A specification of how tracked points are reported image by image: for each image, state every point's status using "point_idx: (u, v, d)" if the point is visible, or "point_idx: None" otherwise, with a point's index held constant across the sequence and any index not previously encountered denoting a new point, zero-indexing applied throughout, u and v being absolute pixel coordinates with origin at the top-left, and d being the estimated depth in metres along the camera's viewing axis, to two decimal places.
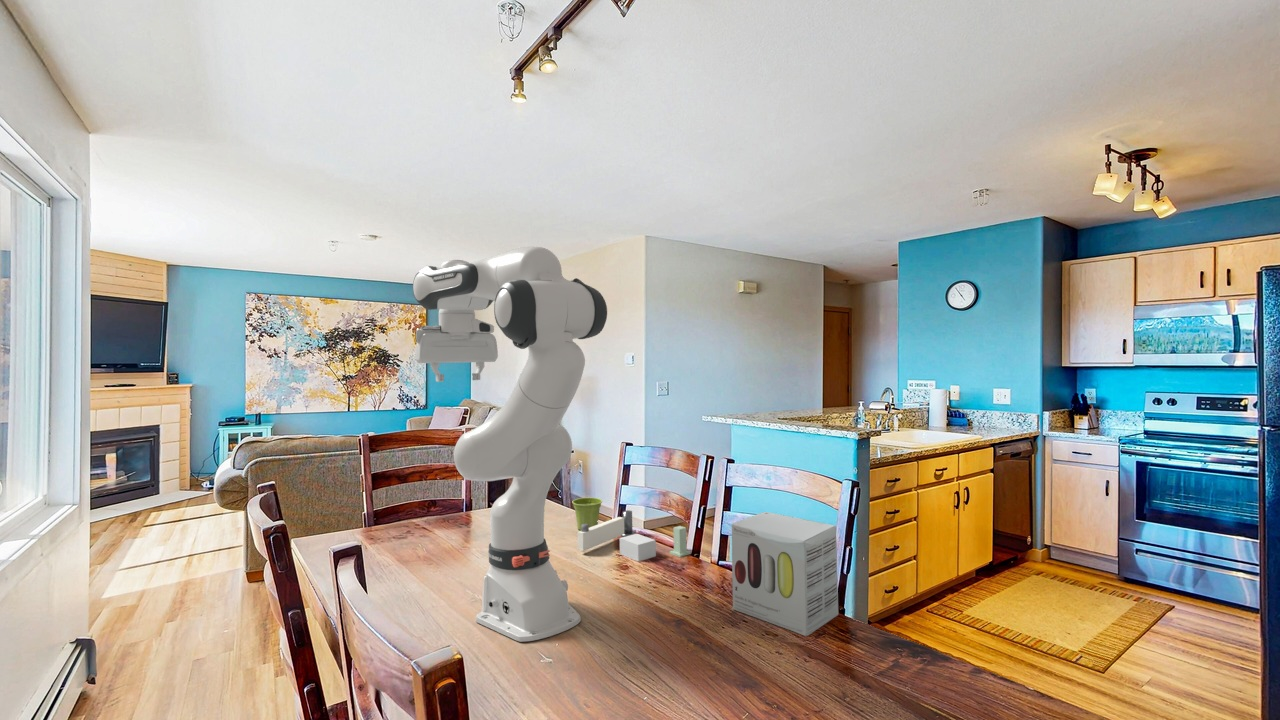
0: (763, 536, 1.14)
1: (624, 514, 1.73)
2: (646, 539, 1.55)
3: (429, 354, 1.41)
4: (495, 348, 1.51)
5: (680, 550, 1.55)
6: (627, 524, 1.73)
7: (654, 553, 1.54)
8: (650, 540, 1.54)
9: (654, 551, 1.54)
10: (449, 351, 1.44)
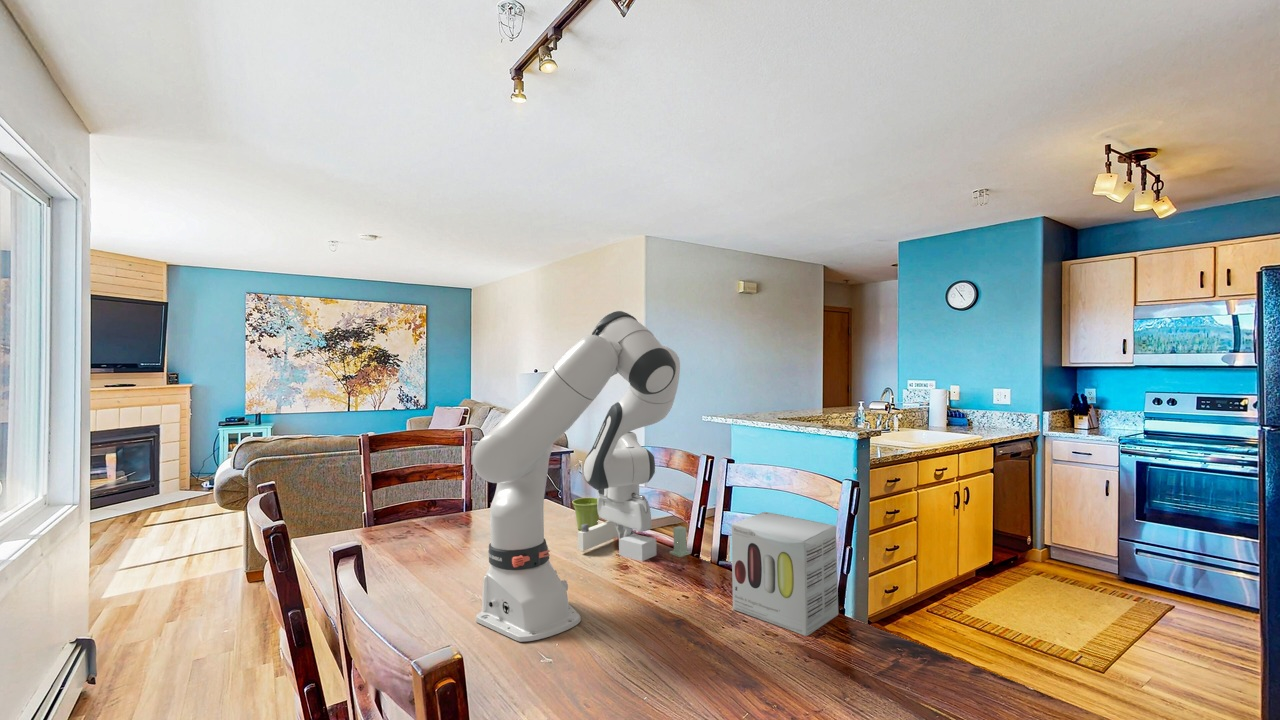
0: (763, 536, 1.14)
1: None
2: (646, 538, 1.56)
3: None
4: None
5: (680, 550, 1.55)
6: None
7: (655, 552, 1.55)
8: (651, 539, 1.55)
9: (655, 550, 1.55)
10: None
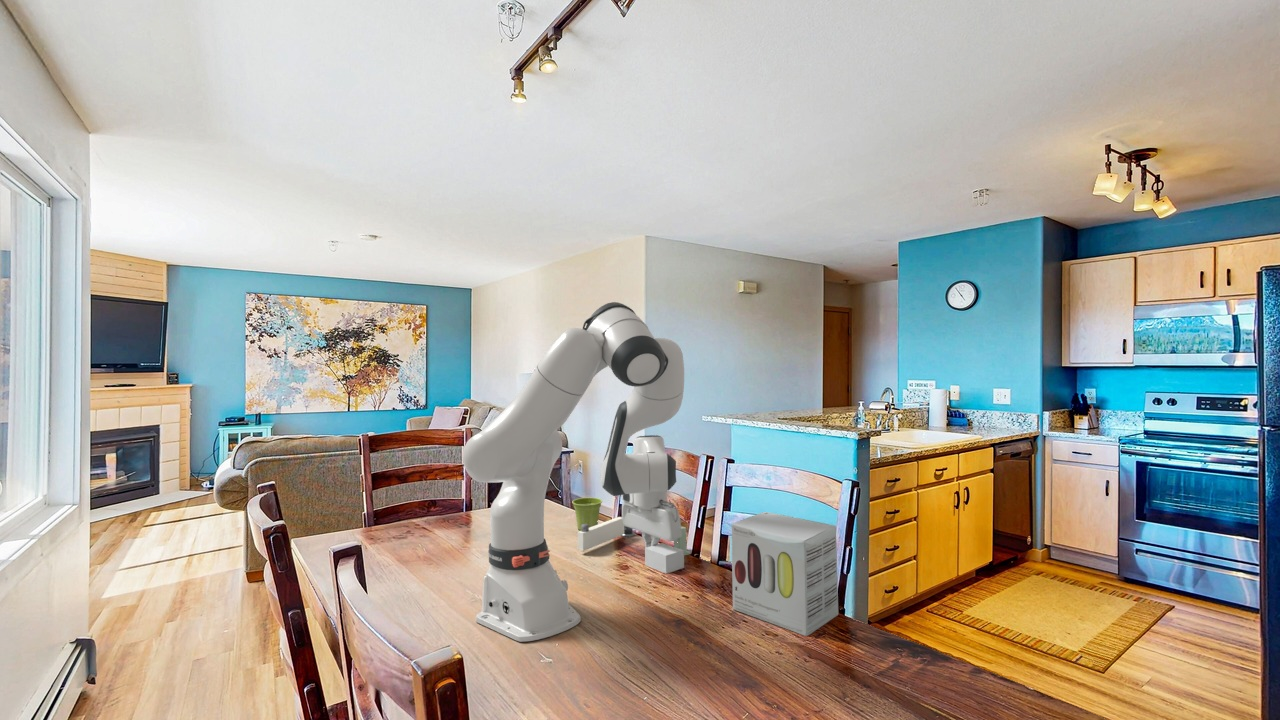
0: (763, 536, 1.14)
1: None
2: (673, 549, 1.46)
3: None
4: None
5: None
6: None
7: (682, 564, 1.45)
8: (678, 550, 1.45)
9: (682, 562, 1.45)
10: None
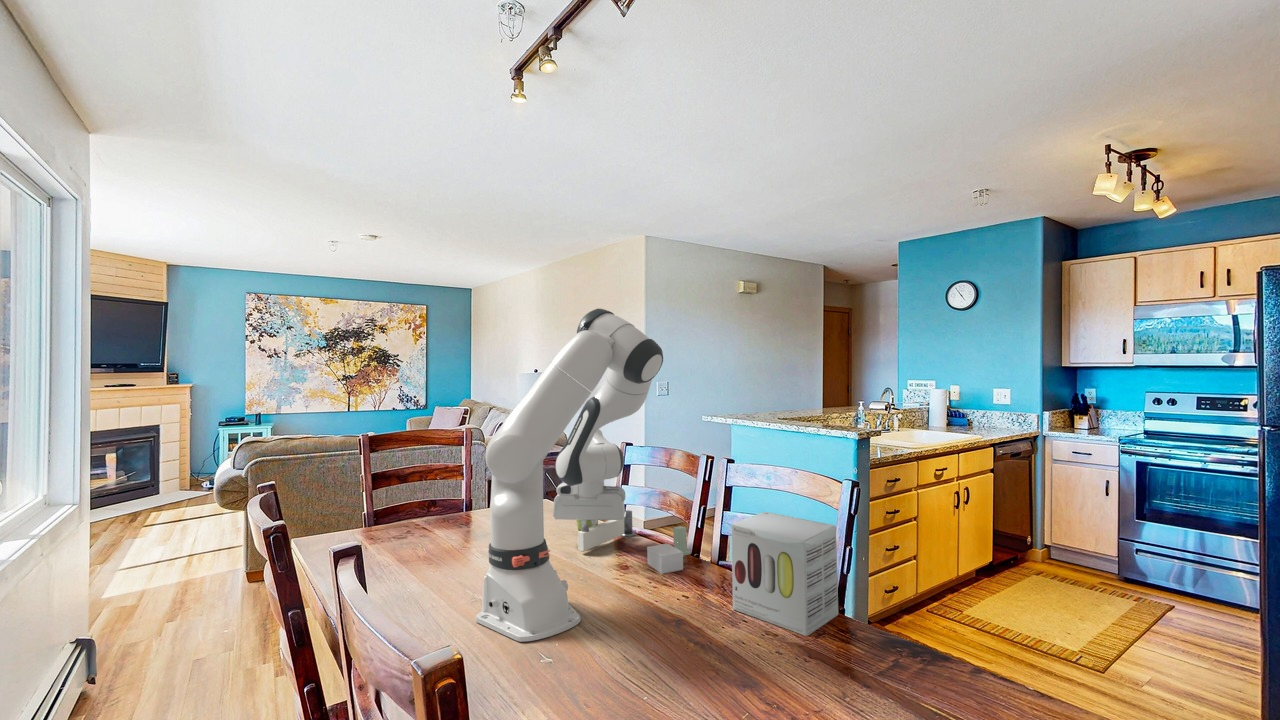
0: (763, 536, 1.14)
1: None
2: (673, 550, 1.46)
3: None
4: None
5: (680, 550, 1.55)
6: (627, 524, 1.73)
7: (681, 566, 1.44)
8: (677, 552, 1.44)
9: (681, 564, 1.44)
10: None
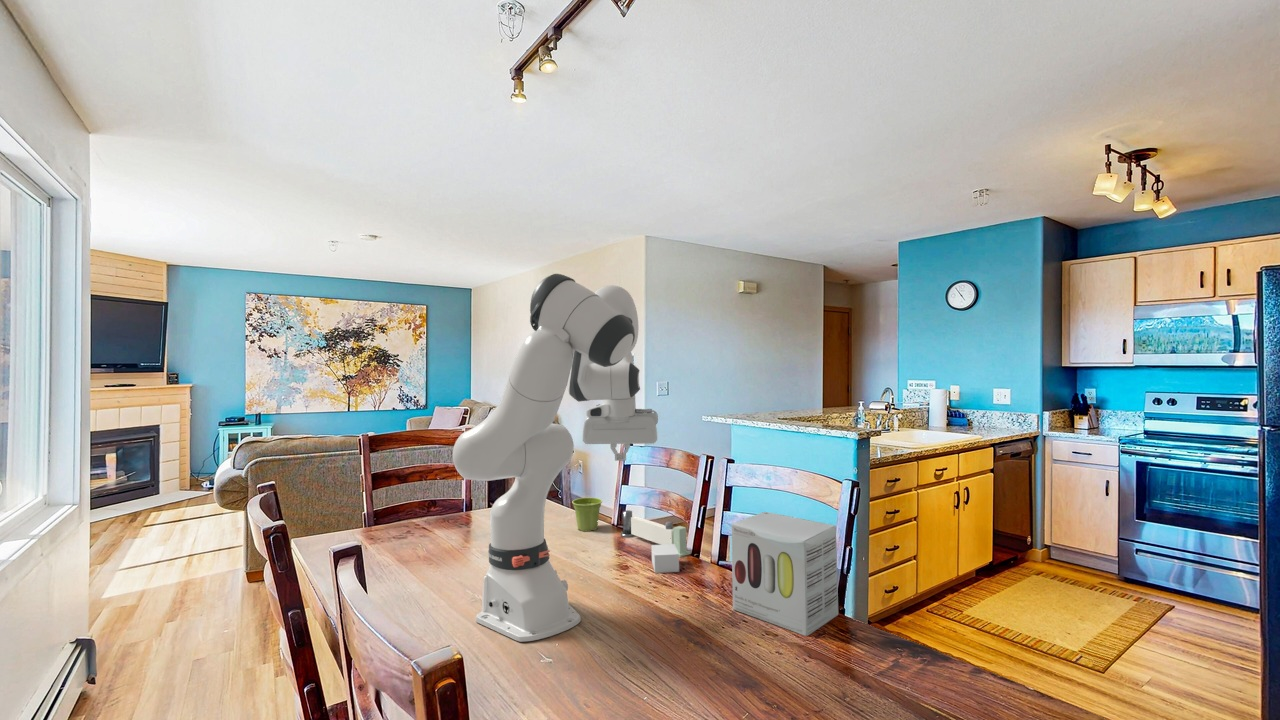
0: (763, 536, 1.14)
1: (624, 514, 1.73)
2: (671, 551, 1.45)
3: None
4: None
5: (680, 550, 1.55)
6: (627, 524, 1.73)
7: (677, 568, 1.43)
8: (673, 553, 1.43)
9: (677, 566, 1.43)
10: None
